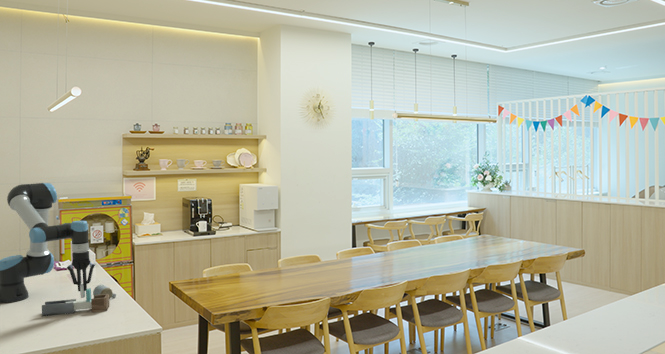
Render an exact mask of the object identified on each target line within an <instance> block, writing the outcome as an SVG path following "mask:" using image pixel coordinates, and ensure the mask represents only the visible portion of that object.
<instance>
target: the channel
mask: <svg viewBox="0 0 665 354" xmlns="http://www.w3.org/2000/svg"><path fill="white" fill-rule="evenodd" d="M72 301H77V298H74V299H72V298H71V299H60V300H51V301H45V302H44V304H41V317H51V316H62V315H70V314H71V315H72V314H74V313H75V312H76V311H77V310H74V303H73V302H72ZM66 302H70V303H66Z"/></svg>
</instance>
